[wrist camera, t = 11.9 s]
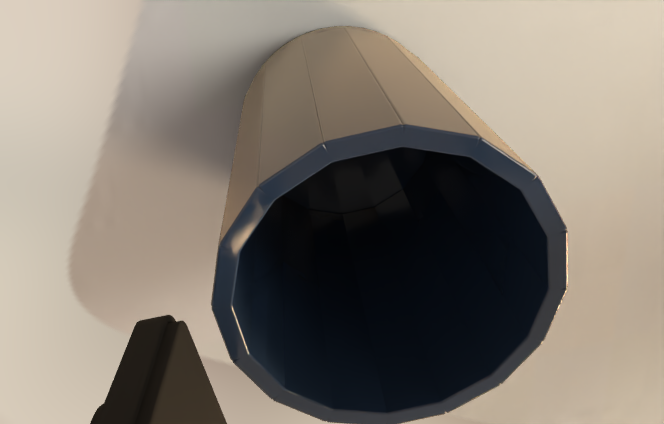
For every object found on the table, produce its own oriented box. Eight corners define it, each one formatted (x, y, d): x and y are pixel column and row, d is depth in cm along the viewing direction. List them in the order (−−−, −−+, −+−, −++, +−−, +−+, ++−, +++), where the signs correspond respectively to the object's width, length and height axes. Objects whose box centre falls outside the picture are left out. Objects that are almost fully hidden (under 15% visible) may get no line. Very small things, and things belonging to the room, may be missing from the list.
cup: (425, 4, 18) (568, 87, 9) (447, 192, 21) (569, 387, 12) (216, 51, 18) (161, 178, 9) (269, 231, 21) (265, 453, 13)
